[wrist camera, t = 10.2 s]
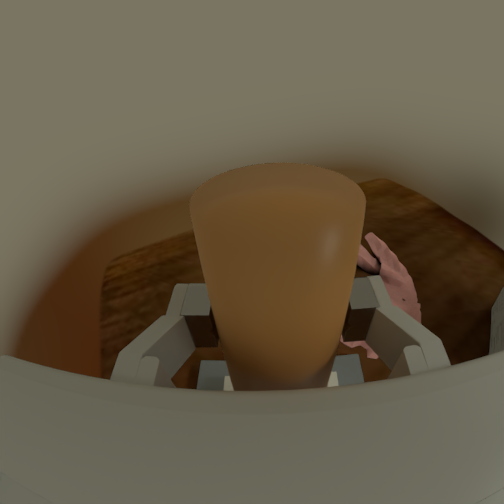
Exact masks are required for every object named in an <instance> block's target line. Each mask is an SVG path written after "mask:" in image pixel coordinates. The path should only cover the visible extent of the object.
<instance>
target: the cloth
mask: <svg viewBox="0 0 504 504" xmlns="http://www.w3.org/2000/svg"><path fill="white" fill-rule="evenodd" d="M365 239H366V240H367V242H368V243H369V245H370V247H371V249H372V252H373V253H374V254H375V255H376V257H377V258H378V259H379V260H380V262H381V264H379V262H378V261H377V260H376V259H375V258H373V257H372V256H371V255H370V254H369V252H368V251H367V250H366V249H365V248H364V247H363V246H362V245H361V244H360V248H359V254H358V260H357V266H359V267H361V268H362V269H363V270H365V271H366V272H368V273H370V274H373V275H379V276H380V277H381V278H382V280H383V283H384V285H385V287H386V290H387V292H388V294H389V296H390V299H391V302H392V304H393V306H398V307H399V308H400V309H402V310H403V311H404V312H406V313H407V314H408V315H410V316H411V317H412V318H414V319H415V320H416V321H417V322H419V323H420V324H421V311H420V308H421V306H420V303H417V301H418V299H417V293H416V292H415V288H414V284H413V281H412V278H411V276H410V275H409V274H408V272H407V270H406V268H405V267H404V266H403V265H402V264H401V263H400V262H399V261H398V258H397V256H396V255H395V254H394V253H393V252H392V251H391V250H389V248H388V247H387V245H386V244H385V243H384V242H383V241H382V240H380V239H379V238H378V237H377V236H376V235H374V234H373V233H372V232H371V233H368V234H367V235H366V236H365ZM402 298H403V299H405V300H406V301H403V300H402ZM340 341H341V342H342V343H343V344H345V345H347V346H349V347H351V348H353V347H356V346H359V345H361V346H362V347H364V348H365V349H367V357H368V358H373V359H377V358H378V357H379V356H378V355H377V354H376V353H375V352H374V351H373V350H372V349H371V348H370V347H369V346H368V345H367V343H366V342H365V341H353V342H343V338H342V334H341V338H340Z"/></svg>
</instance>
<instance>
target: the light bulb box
mask: <svg viewBox="0 0 504 504" xmlns="http://www.w3.org/2000/svg"><path fill="white" fill-rule="evenodd" d="M491 309H492V310H491V336H490V349H489V355H490V354H493V353H496V352H499V351H502V350H504V287H503V289H502V290H501V292H500V294H499V296H498V298H497V300H496V301H495V303H494V305H493V307H492V308H491Z"/></svg>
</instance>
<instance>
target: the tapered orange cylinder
mask: <svg viewBox="0 0 504 504" xmlns="http://www.w3.org/2000/svg"><path fill="white" fill-rule="evenodd" d="M365 208H366V198H365V195H364V193H363V191H362V190H361V188H360V187H359V186H358V185H357V184H356V183H355V182H353V181H352V180H350V179H349V178H347V177H345V176H344V175H342V174H339V173H337V172H334V171H332V170H329V169H325V168H322V167H318V166H312V165H306V164H297V163H265V164H257V165H251V166H245V167H241V168H237V169H233V170H230V171H227V172H224V173H222V174H219V175H217V176H215V177H213V178H211V179H209V180H208V181H206V182H205V183H203V184H202V185H201V186H200V187H198V188H197V190H196V191H195V192H194V193H193V195H192V196H191V198H190V202H189V210H190V215H191V220H192V224H193V230H194V234H195V239H196V244H197V248H198V253H199V257H200V262H201V266H202V271H203V275H204V279H205V283H206V288H207V292H208V296H209V300H210V304H211V308H212V312H213V316H214V320H215V324H216V328H217V332H218V336H219V339H220V343H221V347H222V351H223V354H224V358H225V362H226V365H227V369H228V372H229V376H230V379H231V383H232V386H233V390H234V391H269V390H294V389H310V388H322V387H327V385H328V382H329V378H330V375H331V372H332V368H333V365H334V361H335V357H336V354H337V350H338V346H339V342H340V338H341V334H342V330H343V326H344V322H345V318H346V314H347V309H348V305H349V300H350V295H351V291H352V286H353V281H354V276H355V270H356V265H357V260H358V254H359V248H360V242H361V236H362V229H363V223H364V216H365Z"/></svg>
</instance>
